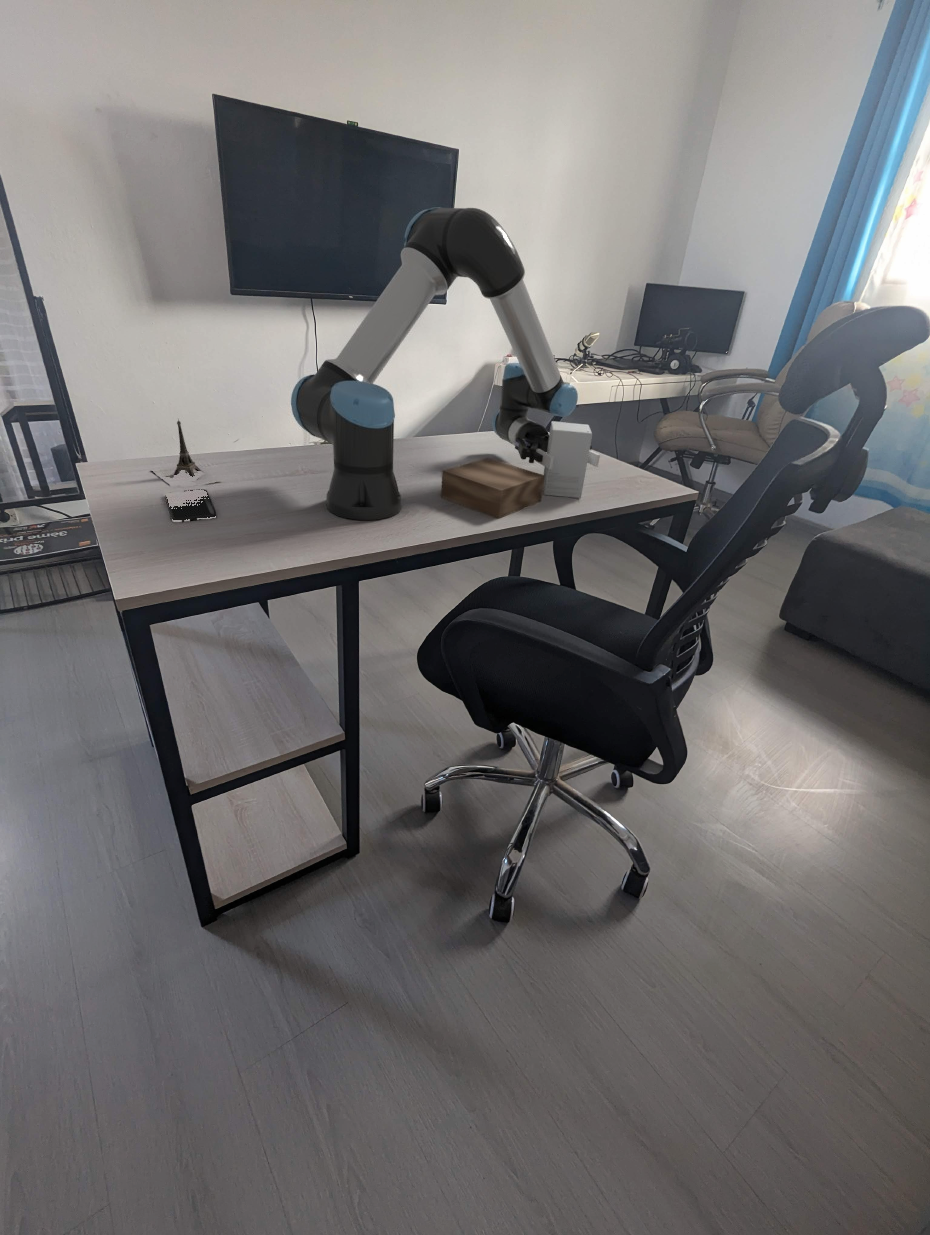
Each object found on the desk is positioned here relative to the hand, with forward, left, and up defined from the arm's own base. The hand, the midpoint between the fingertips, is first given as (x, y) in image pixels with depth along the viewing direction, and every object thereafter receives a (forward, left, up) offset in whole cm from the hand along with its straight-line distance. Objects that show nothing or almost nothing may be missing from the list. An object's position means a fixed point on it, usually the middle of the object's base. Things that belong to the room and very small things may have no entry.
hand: (575, 462), depth 132 cm
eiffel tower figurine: (-59, +62, -9) cm, 86 cm away
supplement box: (+2, +3, -8) cm, 9 cm away
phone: (-67, +45, -9) cm, 82 cm away
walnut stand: (-16, +10, -8) cm, 21 cm away
